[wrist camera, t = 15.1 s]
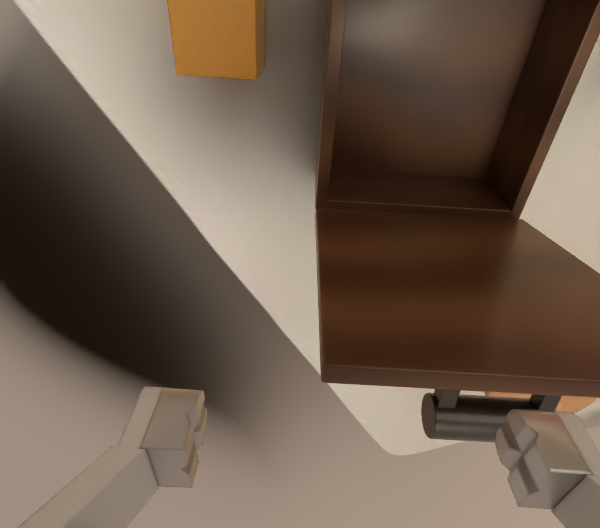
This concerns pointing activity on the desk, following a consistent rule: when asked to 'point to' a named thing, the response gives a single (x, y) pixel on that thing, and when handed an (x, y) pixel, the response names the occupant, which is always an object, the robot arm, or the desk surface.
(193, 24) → the block
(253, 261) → the desk surface
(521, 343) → the lid
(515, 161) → the chest
